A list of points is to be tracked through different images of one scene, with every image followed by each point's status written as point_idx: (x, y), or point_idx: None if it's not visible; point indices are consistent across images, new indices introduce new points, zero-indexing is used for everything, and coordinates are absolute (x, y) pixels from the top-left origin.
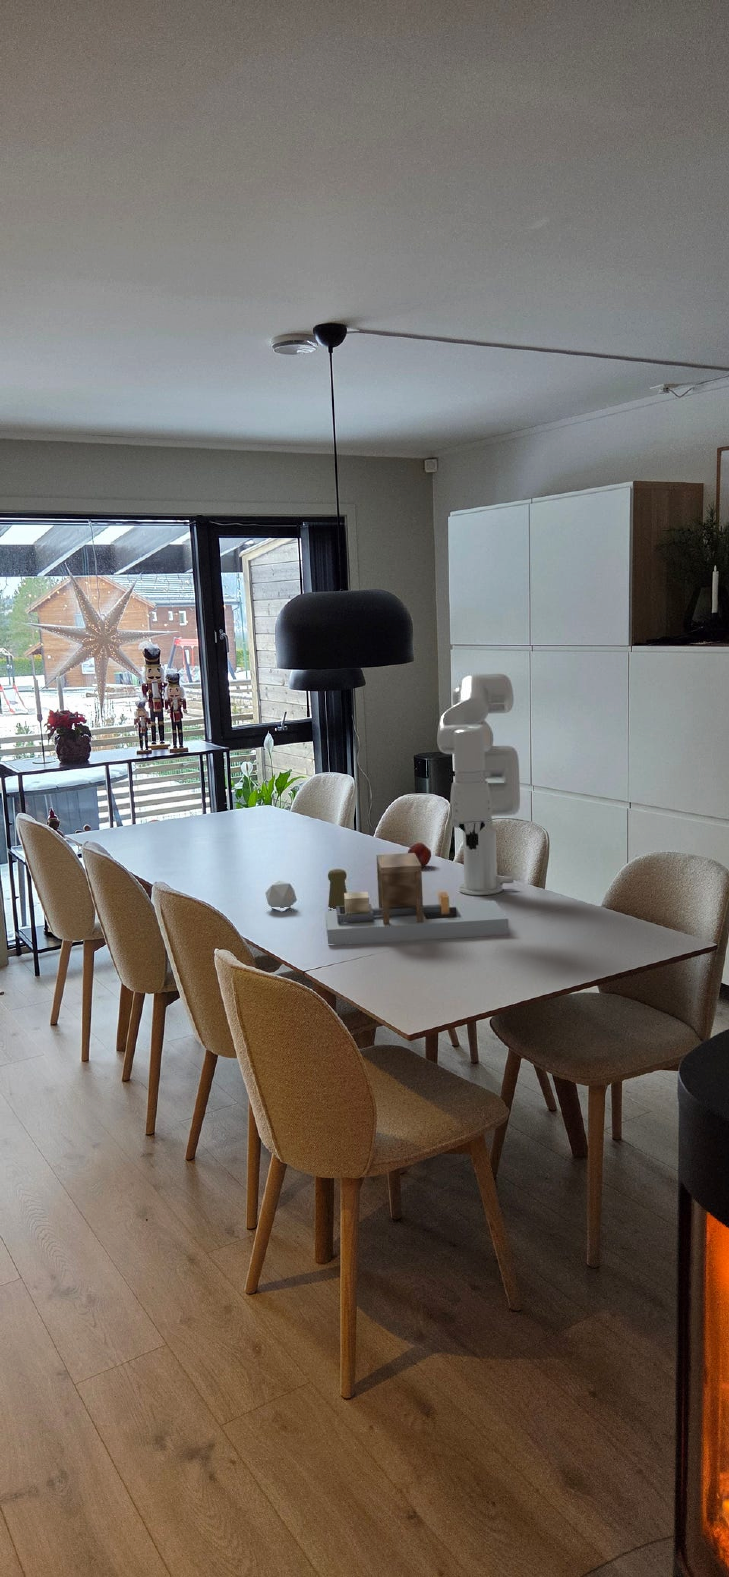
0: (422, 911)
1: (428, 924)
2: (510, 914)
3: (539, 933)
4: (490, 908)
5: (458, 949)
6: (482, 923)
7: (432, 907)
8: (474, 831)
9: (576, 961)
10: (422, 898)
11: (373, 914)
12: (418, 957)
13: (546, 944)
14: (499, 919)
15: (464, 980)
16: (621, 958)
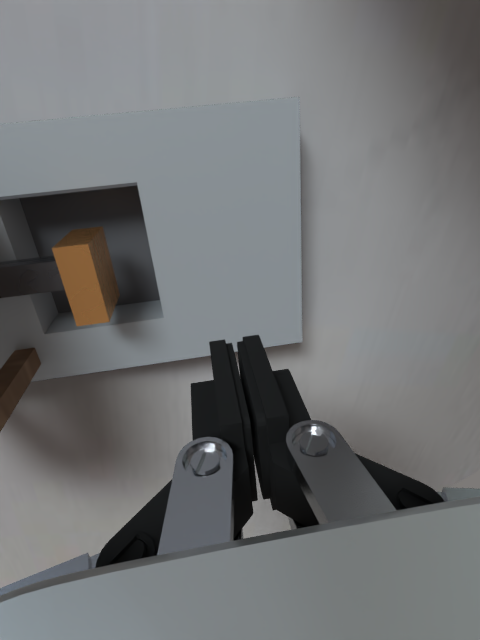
0: (26, 385)
1: (61, 376)
2: (339, 98)
3: (367, 317)
4: (267, 221)
5: (159, 423)
6: None
7: (49, 291)
8: (287, 506)
9: None
10: (9, 415)
11: None
12: (70, 468)
13: (357, 394)
14: (277, 345)
15: None
16: (455, 463)
